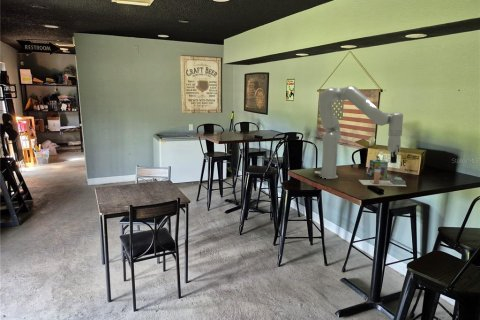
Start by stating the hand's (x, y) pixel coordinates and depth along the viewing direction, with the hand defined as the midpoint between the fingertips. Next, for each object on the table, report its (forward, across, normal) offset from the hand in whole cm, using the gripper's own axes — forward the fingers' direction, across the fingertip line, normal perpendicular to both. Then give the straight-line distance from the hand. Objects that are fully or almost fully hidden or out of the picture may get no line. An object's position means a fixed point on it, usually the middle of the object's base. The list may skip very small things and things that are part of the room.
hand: (393, 162), depth 203 cm
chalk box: (+14, -20, -3) cm, 25 cm away
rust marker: (+13, +1, -10) cm, 16 cm away
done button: (+12, -1, +4) cm, 13 cm away
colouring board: (+14, -1, -6) cm, 15 cm away
